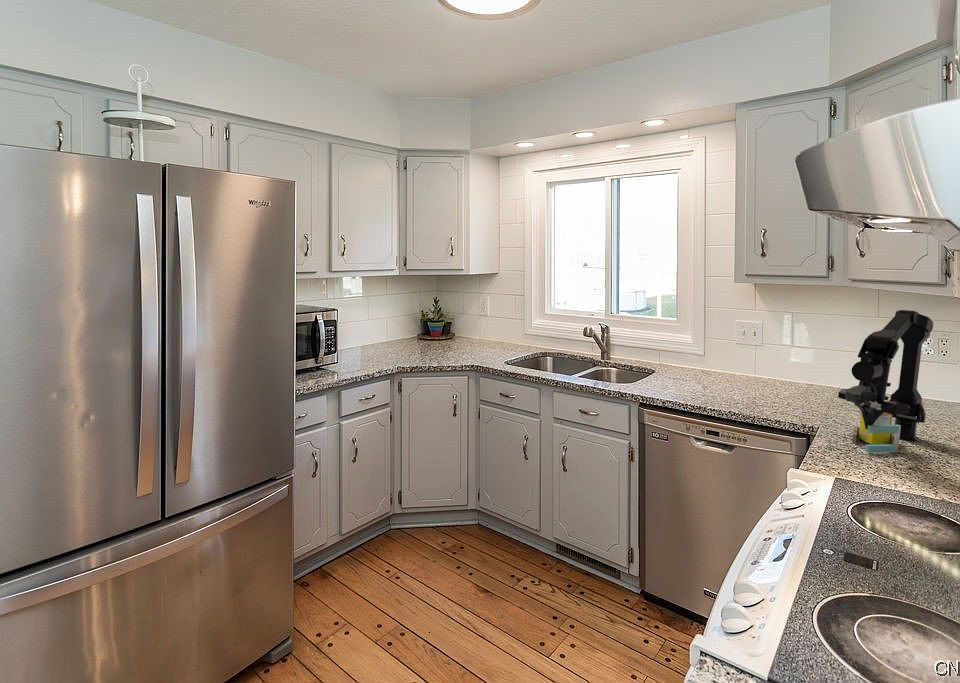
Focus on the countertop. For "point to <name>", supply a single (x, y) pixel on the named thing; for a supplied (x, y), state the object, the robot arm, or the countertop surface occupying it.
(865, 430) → the supplement box
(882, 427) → the clip gate
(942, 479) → the countertop surface
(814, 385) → the countertop surface
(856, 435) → the dock
